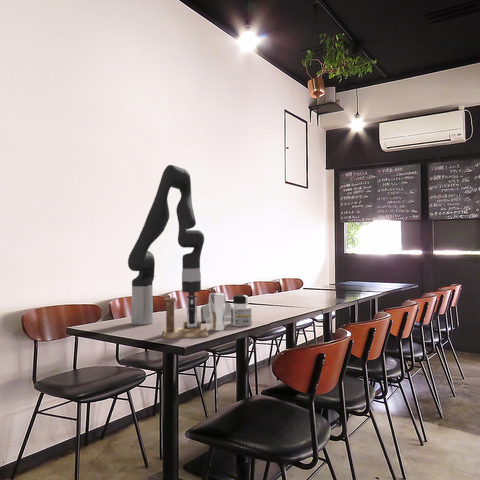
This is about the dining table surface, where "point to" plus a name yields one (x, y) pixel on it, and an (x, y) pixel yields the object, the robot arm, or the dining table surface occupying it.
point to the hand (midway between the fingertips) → (191, 322)
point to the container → (240, 311)
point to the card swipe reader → (207, 318)
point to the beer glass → (217, 311)
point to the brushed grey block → (195, 319)
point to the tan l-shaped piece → (184, 331)
